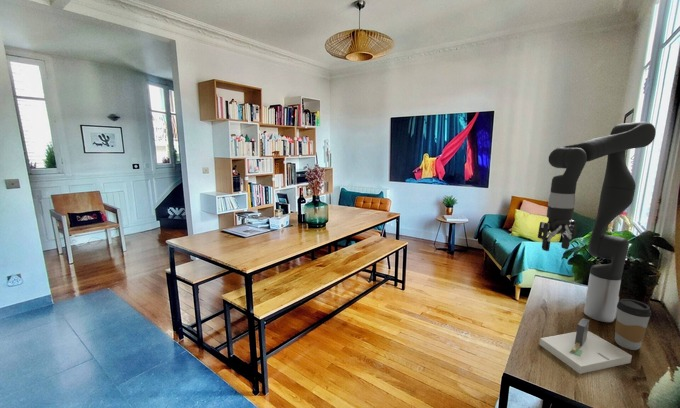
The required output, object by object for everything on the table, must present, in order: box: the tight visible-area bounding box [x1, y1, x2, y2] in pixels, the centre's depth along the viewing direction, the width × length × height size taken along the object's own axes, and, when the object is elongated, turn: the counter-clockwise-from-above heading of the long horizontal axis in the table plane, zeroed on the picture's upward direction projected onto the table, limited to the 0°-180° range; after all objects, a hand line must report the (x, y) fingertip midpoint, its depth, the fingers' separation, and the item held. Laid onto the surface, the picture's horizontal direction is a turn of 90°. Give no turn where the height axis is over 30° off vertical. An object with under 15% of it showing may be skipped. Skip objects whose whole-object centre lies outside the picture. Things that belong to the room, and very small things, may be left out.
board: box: [539, 330, 633, 375], centre depth 99 cm, size 20×14×3 cm
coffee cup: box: [614, 298, 652, 351], centre depth 102 cm, size 8×8×15 cm
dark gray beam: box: [572, 317, 590, 352], centre depth 99 cm, size 2×11×7 cm, turn 130°
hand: (555, 249), depth 110 cm, fingers open, 8 cm apart
